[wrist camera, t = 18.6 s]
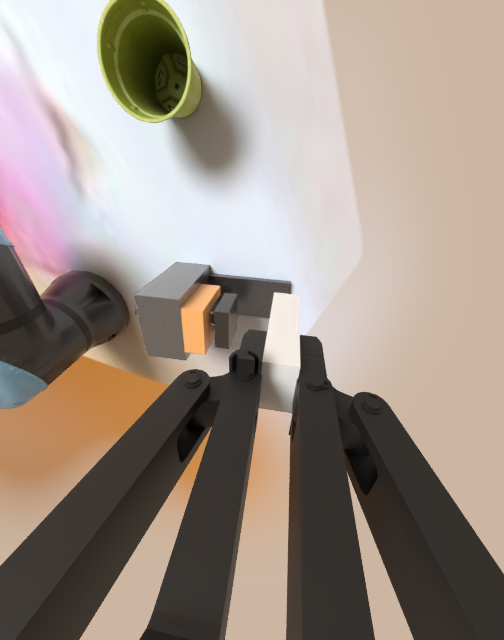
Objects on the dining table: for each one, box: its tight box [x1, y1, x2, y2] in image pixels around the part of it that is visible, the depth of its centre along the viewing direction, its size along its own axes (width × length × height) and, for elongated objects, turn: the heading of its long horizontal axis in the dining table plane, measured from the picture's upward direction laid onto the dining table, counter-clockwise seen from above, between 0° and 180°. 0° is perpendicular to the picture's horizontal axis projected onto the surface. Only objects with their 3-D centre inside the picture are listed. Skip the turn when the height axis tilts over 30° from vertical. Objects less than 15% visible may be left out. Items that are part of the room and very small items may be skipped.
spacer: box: [180, 284, 221, 355], centre depth 38 cm, size 3×7×9 cm, turn 177°
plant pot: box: [97, 0, 202, 123], centre depth 28 cm, size 9×9×9 cm
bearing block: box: [135, 262, 290, 360], centre depth 40 cm, size 20×10×14 cm, turn 87°
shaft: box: [135, 293, 237, 349], centre depth 38 cm, size 15×6×6 cm, turn 87°
